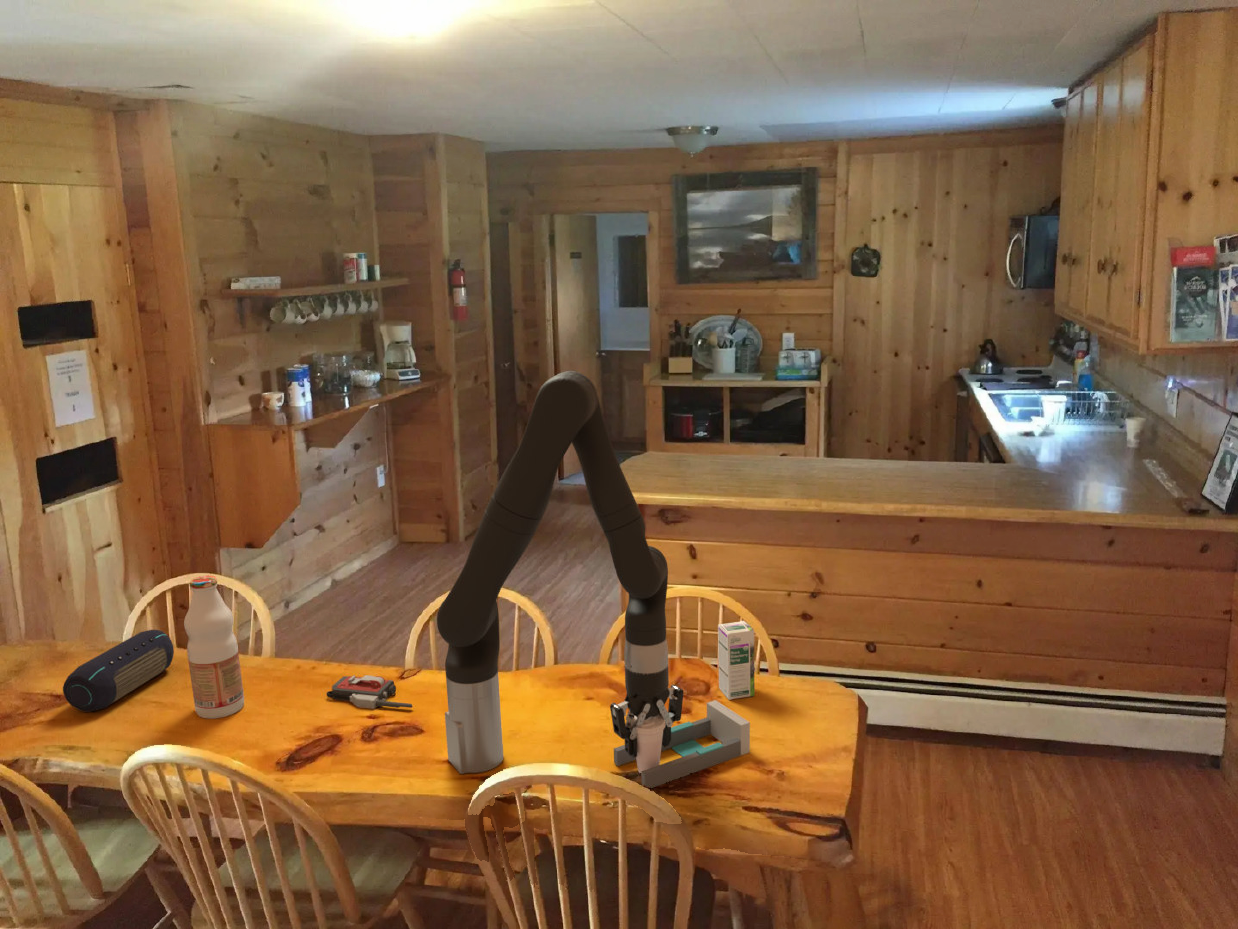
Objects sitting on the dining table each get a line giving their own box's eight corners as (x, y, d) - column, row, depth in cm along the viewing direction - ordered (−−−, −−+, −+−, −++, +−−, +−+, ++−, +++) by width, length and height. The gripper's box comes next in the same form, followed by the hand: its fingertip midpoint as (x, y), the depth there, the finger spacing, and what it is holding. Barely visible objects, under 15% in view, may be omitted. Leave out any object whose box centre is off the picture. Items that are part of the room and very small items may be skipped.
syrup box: (728, 700, 202) (728, 633, 198) (717, 688, 207) (717, 622, 204) (754, 696, 203) (755, 630, 200) (743, 684, 209) (743, 619, 205)
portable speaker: (101, 721, 201) (94, 675, 199) (61, 715, 204) (53, 670, 201) (185, 667, 225) (179, 625, 222) (147, 663, 227) (141, 622, 225)
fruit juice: (194, 723, 199) (176, 590, 192) (196, 703, 207) (178, 575, 201) (245, 714, 202) (228, 583, 195) (244, 694, 210) (228, 568, 204)
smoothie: (624, 774, 176) (621, 702, 173) (640, 757, 182) (638, 686, 178) (657, 783, 173) (655, 709, 170) (672, 765, 179) (671, 693, 175)
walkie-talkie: (321, 705, 206) (410, 715, 201) (318, 686, 205) (408, 695, 200) (342, 686, 214) (429, 695, 209) (340, 667, 213) (427, 675, 208)
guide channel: (645, 790, 171) (644, 759, 170) (613, 763, 180) (612, 733, 179) (749, 752, 182) (750, 722, 181) (715, 728, 191) (715, 699, 190)
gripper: (622, 681, 166) (624, 772, 170) (693, 659, 173) (694, 747, 177) (599, 664, 172) (602, 752, 176) (668, 644, 179) (670, 730, 183)
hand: (648, 749), depth 177 cm, fingers closed on smoothie, 6 cm apart
